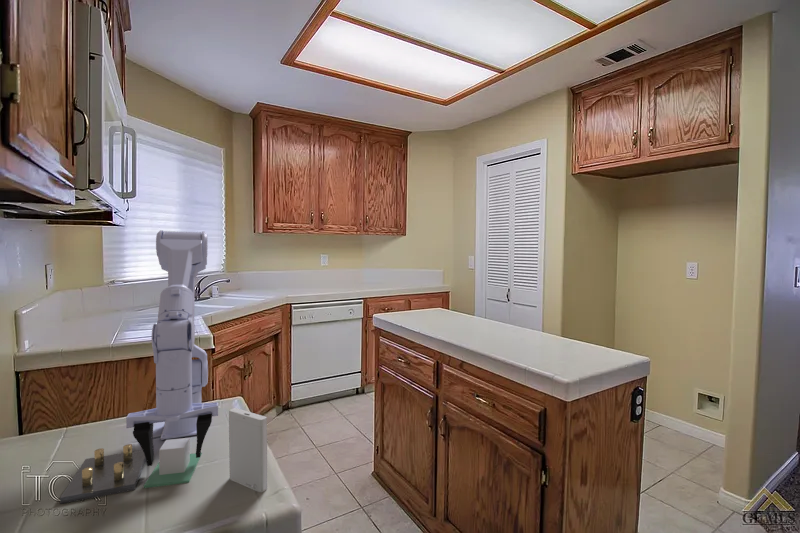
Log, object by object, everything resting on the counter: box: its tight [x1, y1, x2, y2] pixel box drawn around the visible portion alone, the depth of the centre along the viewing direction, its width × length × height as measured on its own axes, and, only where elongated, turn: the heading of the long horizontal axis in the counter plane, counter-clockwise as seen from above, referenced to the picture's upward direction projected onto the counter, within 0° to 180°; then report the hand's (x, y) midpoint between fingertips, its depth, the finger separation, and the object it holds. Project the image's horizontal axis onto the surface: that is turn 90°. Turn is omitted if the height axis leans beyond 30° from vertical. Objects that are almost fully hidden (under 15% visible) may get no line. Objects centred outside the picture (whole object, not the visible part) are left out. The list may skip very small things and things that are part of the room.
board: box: [143, 437, 203, 489], centre depth 74 cm, size 10×7×5 cm
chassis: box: [59, 443, 147, 505], centre depth 72 cm, size 13×10×4 cm
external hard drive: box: [228, 407, 268, 493], centre depth 70 cm, size 2×8×12 cm, turn 60°
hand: (175, 459), depth 74 cm, fingers open, 7 cm apart
